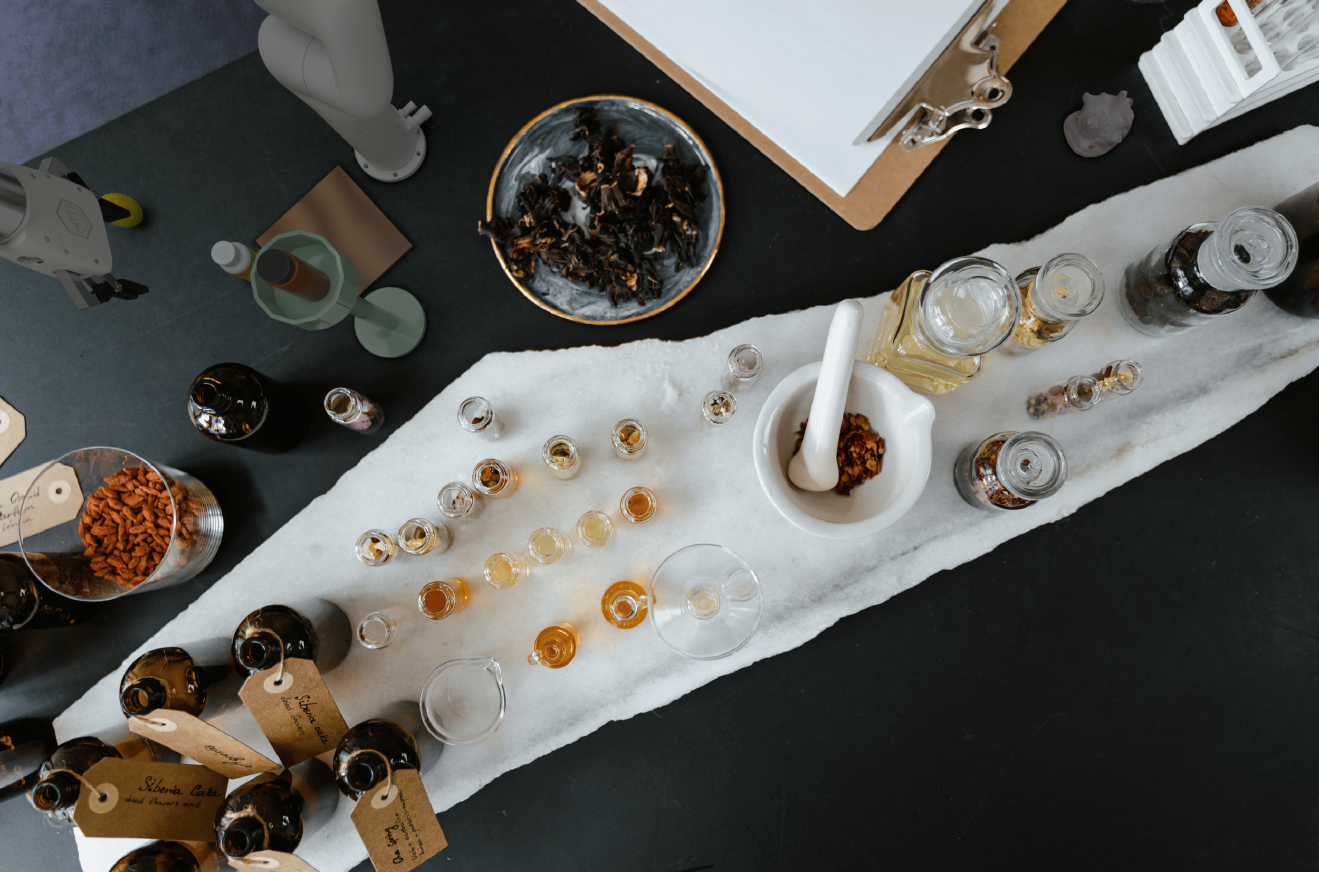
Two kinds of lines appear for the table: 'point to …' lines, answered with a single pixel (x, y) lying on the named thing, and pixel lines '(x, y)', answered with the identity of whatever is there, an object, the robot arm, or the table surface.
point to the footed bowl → (342, 299)
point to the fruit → (127, 204)
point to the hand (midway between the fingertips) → (128, 254)
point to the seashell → (1099, 124)
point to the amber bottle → (293, 275)
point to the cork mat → (346, 226)
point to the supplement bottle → (234, 258)
